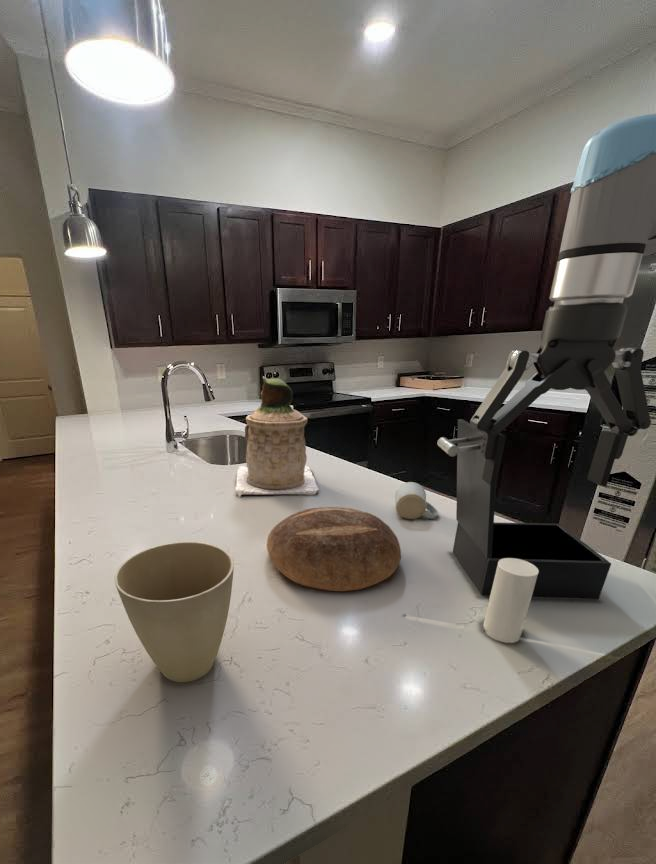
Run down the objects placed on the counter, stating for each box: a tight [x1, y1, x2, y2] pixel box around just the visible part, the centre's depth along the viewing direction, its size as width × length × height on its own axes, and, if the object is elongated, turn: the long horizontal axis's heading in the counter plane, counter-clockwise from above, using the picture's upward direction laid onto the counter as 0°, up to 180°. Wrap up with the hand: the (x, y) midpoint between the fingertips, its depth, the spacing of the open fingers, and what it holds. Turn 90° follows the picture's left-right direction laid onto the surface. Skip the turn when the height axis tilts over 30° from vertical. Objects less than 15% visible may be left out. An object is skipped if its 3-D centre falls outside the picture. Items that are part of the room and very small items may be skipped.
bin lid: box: [436, 418, 497, 558], centre depth 74 cm, size 20×16×6 cm
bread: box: [266, 506, 402, 592], centre depth 85 cm, size 26×27×10 cm
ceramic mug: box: [394, 481, 439, 520], centre depth 105 cm, size 11×8×8 cm
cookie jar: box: [234, 376, 319, 498], centre depth 124 cm, size 25×25×32 cm
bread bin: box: [452, 521, 612, 600], centre depth 78 cm, size 20×16×8 cm
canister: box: [482, 558, 539, 644], centre depth 63 cm, size 5×5×12 cm
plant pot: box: [114, 541, 235, 683], centre depth 57 cm, size 15×15×16 cm
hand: (542, 482), depth 55 cm, fingers open, 13 cm apart
